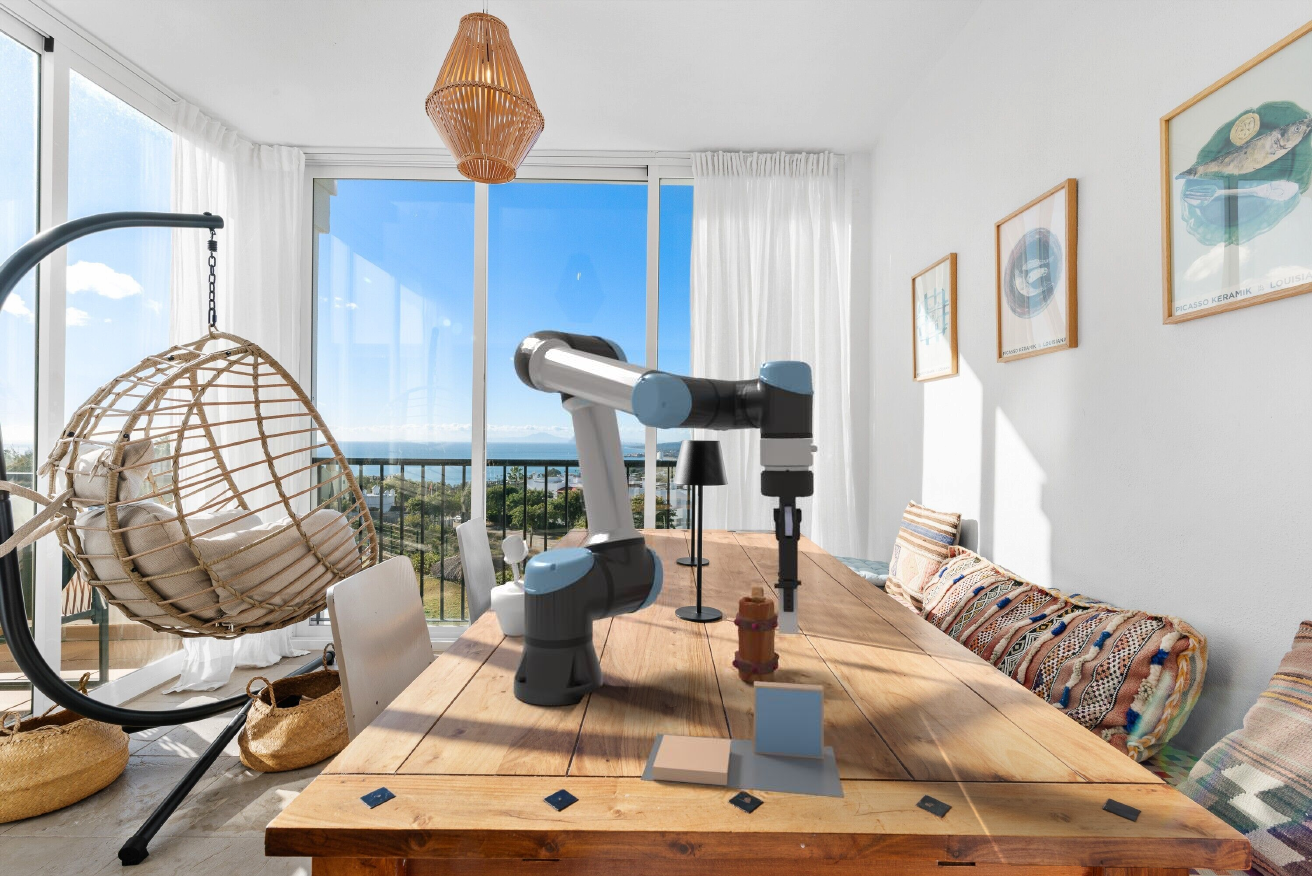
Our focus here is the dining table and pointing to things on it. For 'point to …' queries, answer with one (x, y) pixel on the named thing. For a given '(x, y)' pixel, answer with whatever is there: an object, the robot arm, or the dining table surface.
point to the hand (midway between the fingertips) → (788, 632)
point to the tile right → (789, 719)
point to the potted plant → (511, 589)
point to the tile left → (693, 760)
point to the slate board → (770, 771)
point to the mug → (756, 638)
